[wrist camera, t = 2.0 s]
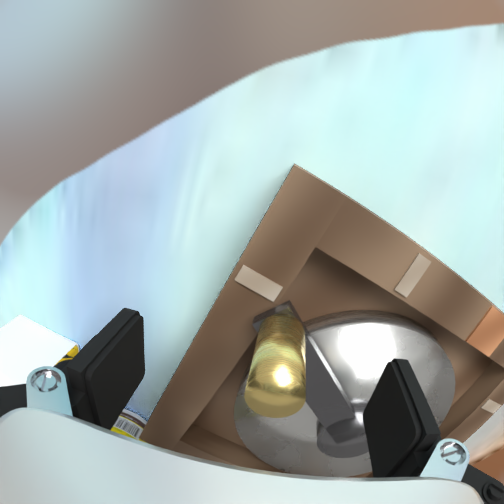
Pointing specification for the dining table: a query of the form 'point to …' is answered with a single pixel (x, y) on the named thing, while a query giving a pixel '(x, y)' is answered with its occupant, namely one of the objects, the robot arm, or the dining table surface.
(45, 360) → the medicine bottle
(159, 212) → the dining table surface
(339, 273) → the housing
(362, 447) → the dial
